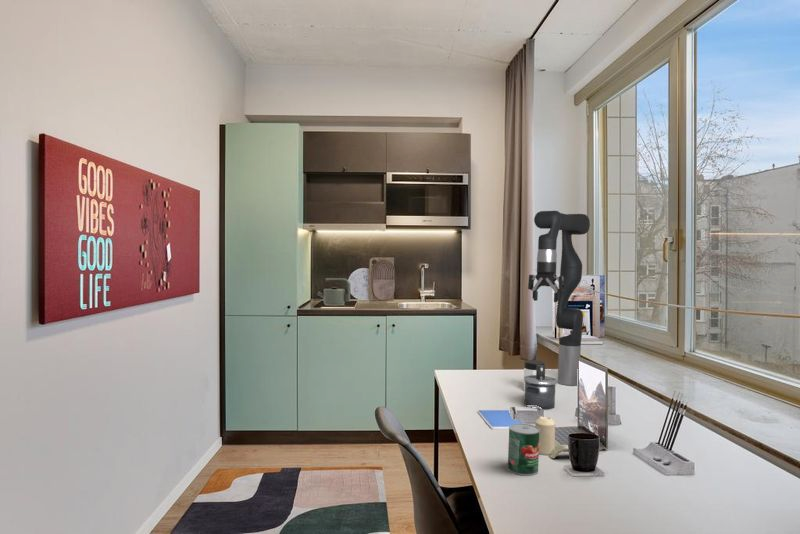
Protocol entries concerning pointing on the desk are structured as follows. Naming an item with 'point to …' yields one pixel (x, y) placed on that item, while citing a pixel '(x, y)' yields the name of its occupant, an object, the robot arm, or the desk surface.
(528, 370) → the jar
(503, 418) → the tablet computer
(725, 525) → the desk surface
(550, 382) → the lid
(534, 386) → the pot
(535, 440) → the canned tomato
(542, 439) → the candle
